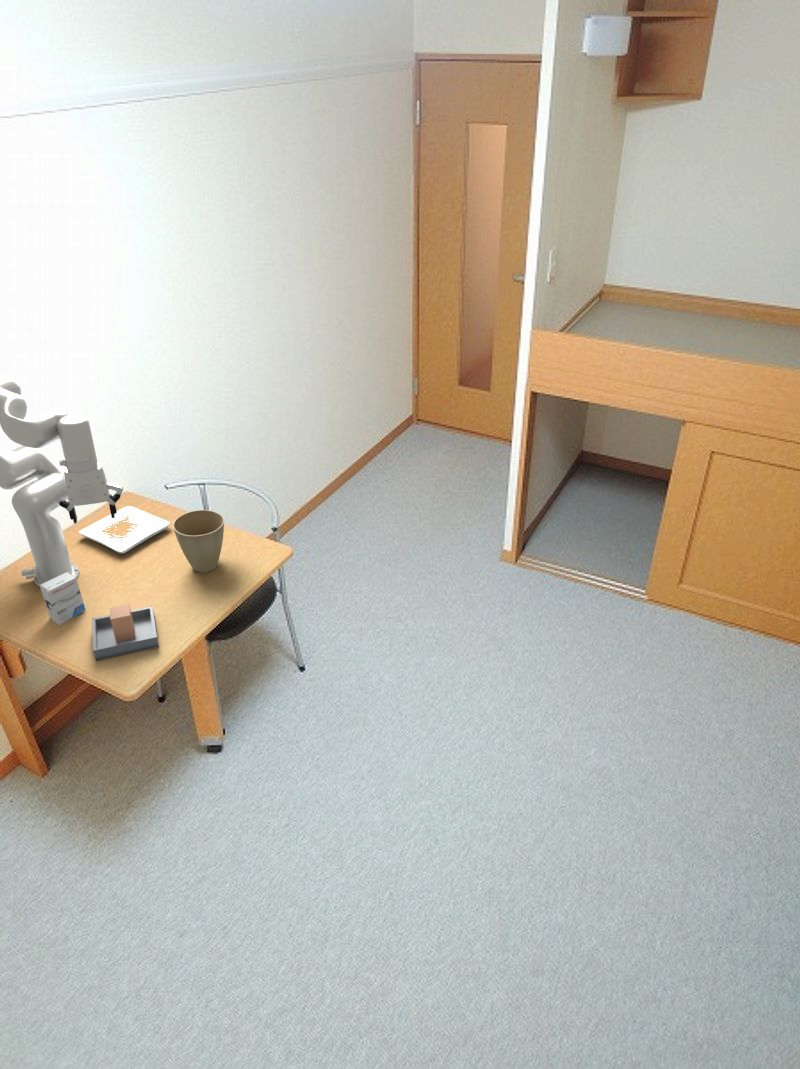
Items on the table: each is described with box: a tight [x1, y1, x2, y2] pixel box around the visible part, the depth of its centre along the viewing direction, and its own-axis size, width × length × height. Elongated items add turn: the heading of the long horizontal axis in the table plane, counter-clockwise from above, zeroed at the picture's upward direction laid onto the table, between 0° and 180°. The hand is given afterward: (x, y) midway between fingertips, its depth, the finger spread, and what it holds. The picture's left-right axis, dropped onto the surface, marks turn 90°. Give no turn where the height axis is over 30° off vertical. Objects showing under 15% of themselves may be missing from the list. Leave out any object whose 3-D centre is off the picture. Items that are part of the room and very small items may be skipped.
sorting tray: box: [91, 605, 160, 661], centre depth 203 cm, size 16×14×4 cm
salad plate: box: [78, 505, 171, 554], centre depth 247 cm, size 21×21×3 cm
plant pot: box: [172, 509, 225, 573], centre depth 228 cm, size 15×15×16 cm
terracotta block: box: [109, 604, 136, 643], centre depth 201 cm, size 5×5×8 cm
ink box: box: [39, 572, 86, 625], centre depth 209 cm, size 8×5×12 cm, turn 141°
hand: (94, 518), depth 204 cm, fingers open, 9 cm apart
